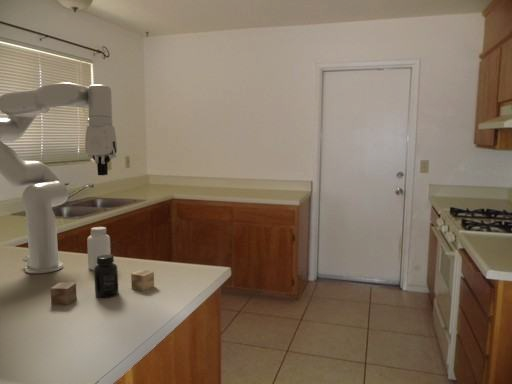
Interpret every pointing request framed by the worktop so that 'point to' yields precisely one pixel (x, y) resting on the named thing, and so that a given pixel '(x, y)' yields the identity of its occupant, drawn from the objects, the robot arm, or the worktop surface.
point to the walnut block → (63, 293)
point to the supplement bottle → (106, 277)
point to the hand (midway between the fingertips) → (102, 175)
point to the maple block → (142, 280)
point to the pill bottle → (97, 245)
